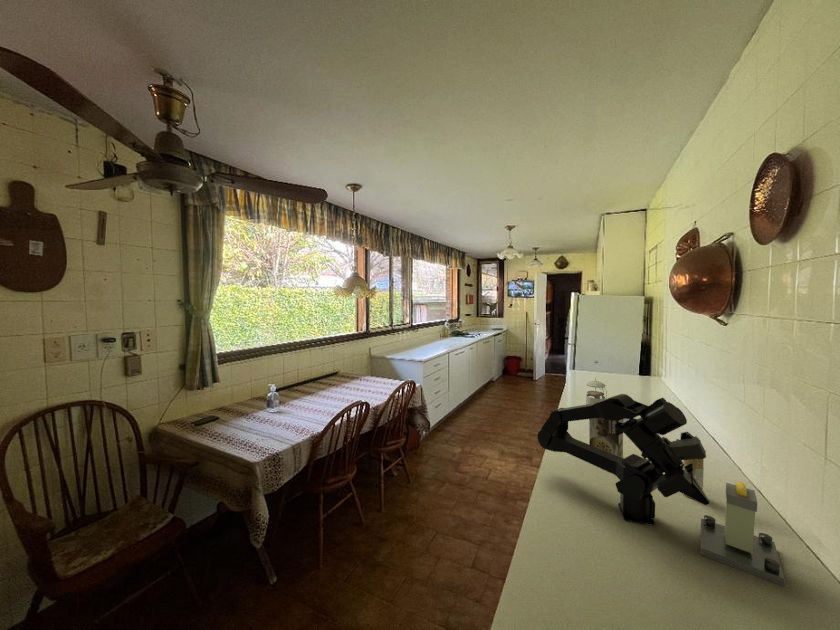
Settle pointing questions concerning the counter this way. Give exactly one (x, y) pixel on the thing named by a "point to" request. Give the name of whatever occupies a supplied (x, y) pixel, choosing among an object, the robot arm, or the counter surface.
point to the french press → (595, 393)
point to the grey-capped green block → (740, 516)
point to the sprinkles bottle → (696, 470)
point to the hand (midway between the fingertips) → (707, 503)
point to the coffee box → (605, 436)
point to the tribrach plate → (741, 552)
